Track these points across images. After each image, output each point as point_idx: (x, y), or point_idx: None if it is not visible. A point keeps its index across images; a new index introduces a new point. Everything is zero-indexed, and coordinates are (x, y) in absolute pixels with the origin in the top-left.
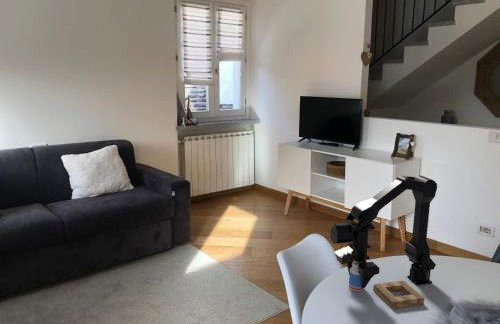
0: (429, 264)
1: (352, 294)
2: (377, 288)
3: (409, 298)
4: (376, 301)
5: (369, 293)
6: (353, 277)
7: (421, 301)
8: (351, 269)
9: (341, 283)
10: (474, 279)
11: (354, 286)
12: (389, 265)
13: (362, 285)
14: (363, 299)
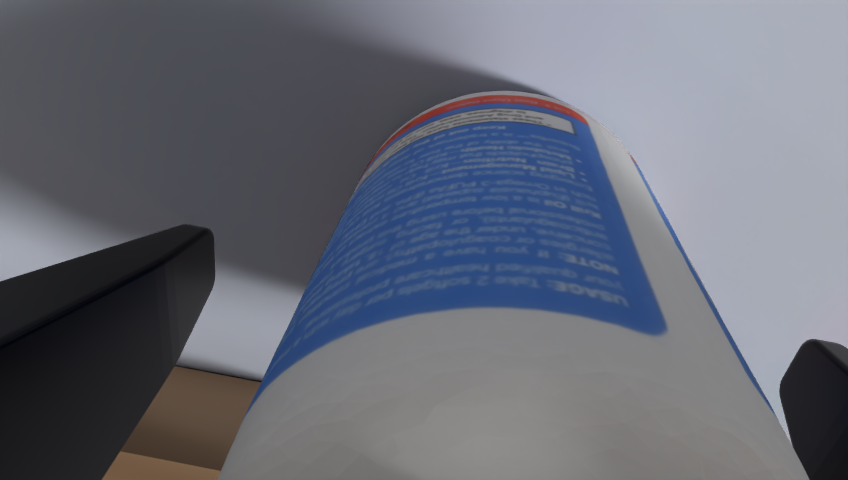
0: None
1: (319, 8)
2: (169, 450)
3: None
4: (30, 247)
5: (271, 306)
6: (396, 247)
7: None
8: (600, 459)
9: (818, 75)
10: None
11: (391, 154)
12: None
13: (109, 249)
14: (107, 95)
